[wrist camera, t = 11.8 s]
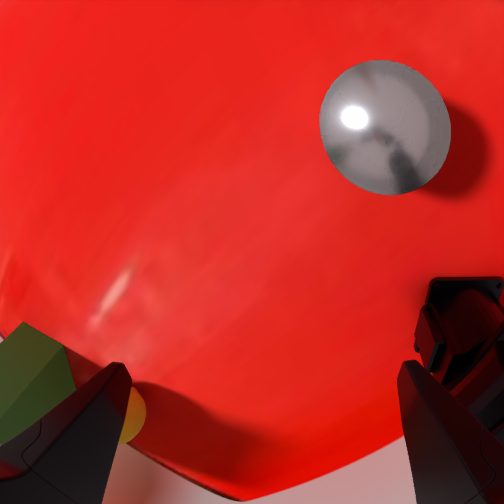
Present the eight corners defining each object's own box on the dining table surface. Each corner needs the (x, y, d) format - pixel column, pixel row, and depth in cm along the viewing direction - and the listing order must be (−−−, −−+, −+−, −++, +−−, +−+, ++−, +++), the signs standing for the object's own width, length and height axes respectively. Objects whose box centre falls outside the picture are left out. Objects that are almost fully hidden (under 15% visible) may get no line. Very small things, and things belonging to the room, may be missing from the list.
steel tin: (416, 78, 14) (448, 68, 10) (417, 176, 17) (447, 198, 12) (315, 72, 15) (315, 57, 11) (320, 172, 18) (321, 193, 14)
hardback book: (87, 419, 39) (18, 530, 18) (52, 399, 40) (-19, 499, 18) (63, 345, 31) (-51, 489, 10) (23, 321, 32) (-88, 442, 10)
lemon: (105, 369, 31) (69, 420, 24) (141, 371, 29) (105, 429, 22) (129, 402, 33) (99, 452, 26) (165, 405, 31) (137, 461, 24)
